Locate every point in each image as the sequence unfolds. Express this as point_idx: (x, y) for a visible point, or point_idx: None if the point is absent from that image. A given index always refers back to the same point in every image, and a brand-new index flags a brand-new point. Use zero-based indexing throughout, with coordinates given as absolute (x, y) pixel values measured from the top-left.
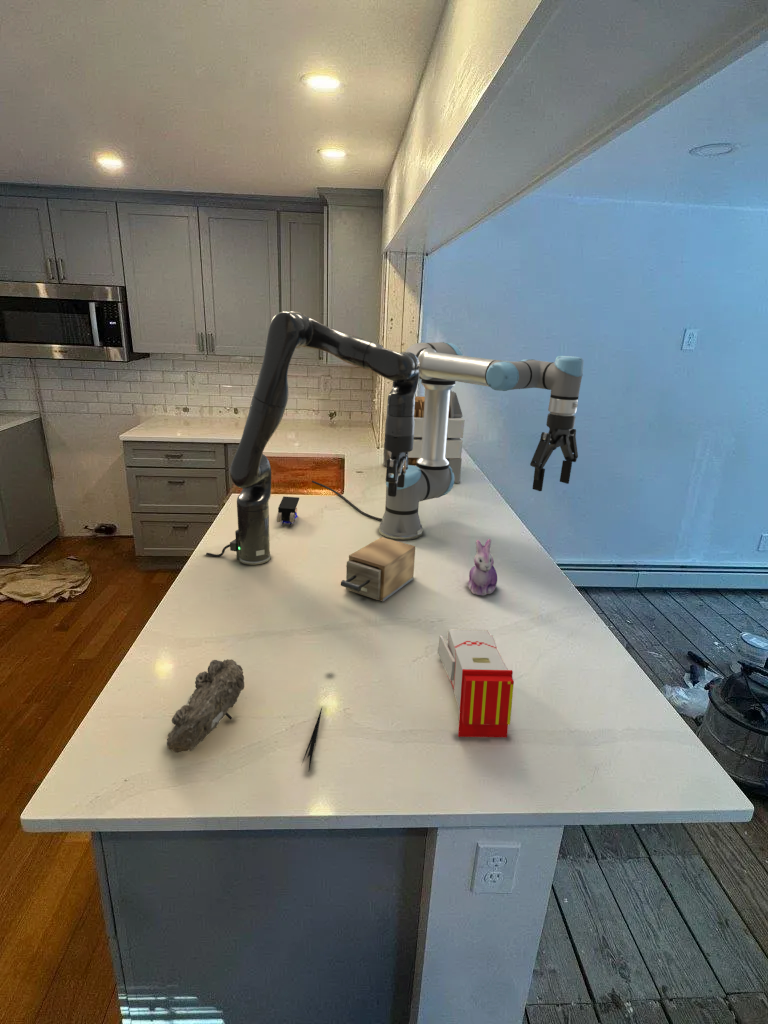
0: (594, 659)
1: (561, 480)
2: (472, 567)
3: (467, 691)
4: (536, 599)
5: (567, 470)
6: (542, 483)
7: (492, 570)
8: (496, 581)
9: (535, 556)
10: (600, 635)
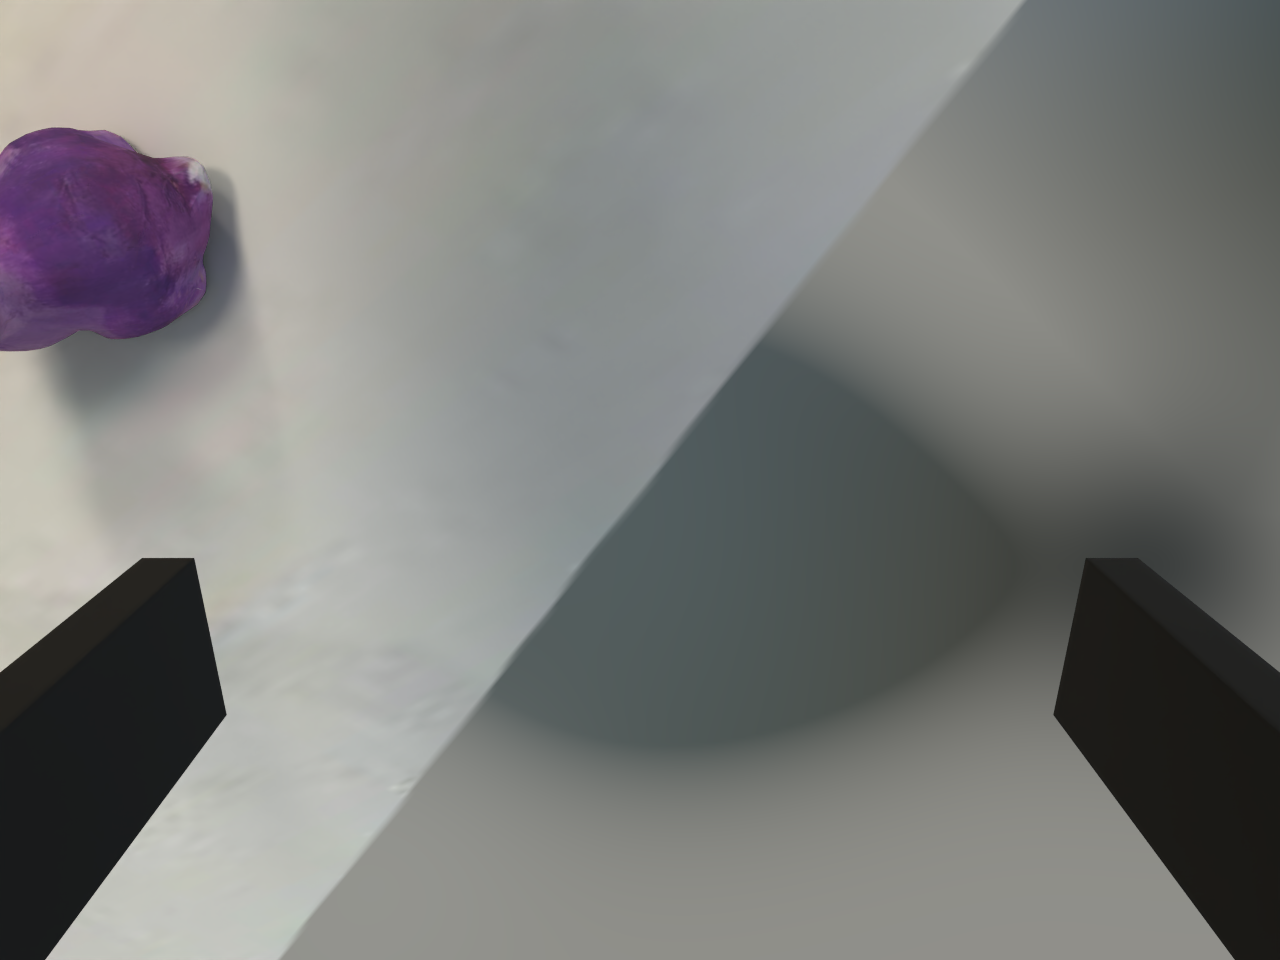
0: (170, 909)
1: (1096, 609)
2: (10, 150)
3: None
4: (337, 520)
5: (1231, 884)
6: (131, 820)
7: (66, 324)
8: (147, 333)
9: (867, 129)
10: (339, 848)
